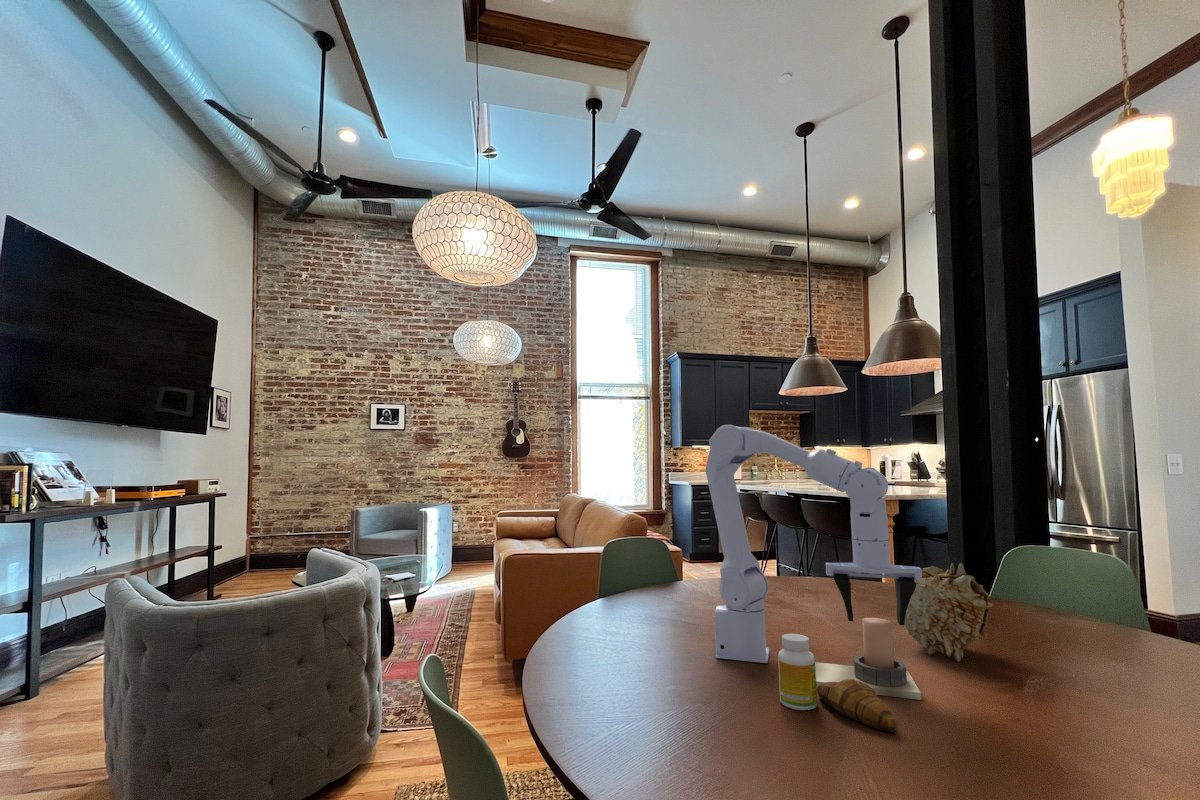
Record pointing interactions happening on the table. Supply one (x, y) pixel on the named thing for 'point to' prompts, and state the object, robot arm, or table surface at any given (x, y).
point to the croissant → (857, 703)
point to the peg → (878, 643)
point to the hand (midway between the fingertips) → (875, 621)
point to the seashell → (947, 610)
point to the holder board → (849, 674)
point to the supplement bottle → (797, 673)
